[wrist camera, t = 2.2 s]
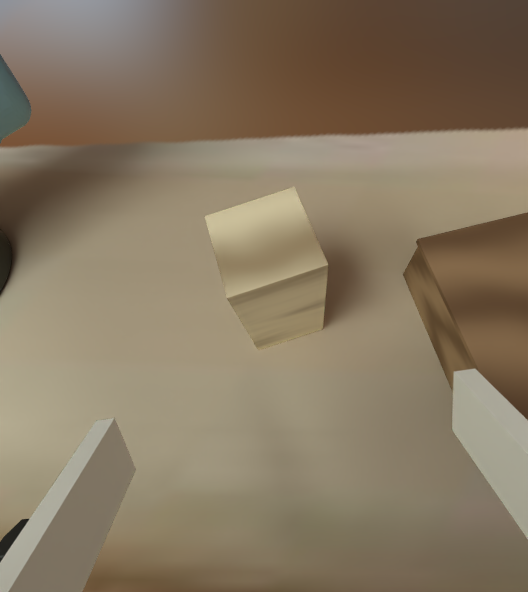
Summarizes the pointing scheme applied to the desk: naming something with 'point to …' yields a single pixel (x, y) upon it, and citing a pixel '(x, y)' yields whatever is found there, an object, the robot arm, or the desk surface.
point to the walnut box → (477, 302)
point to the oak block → (271, 267)
